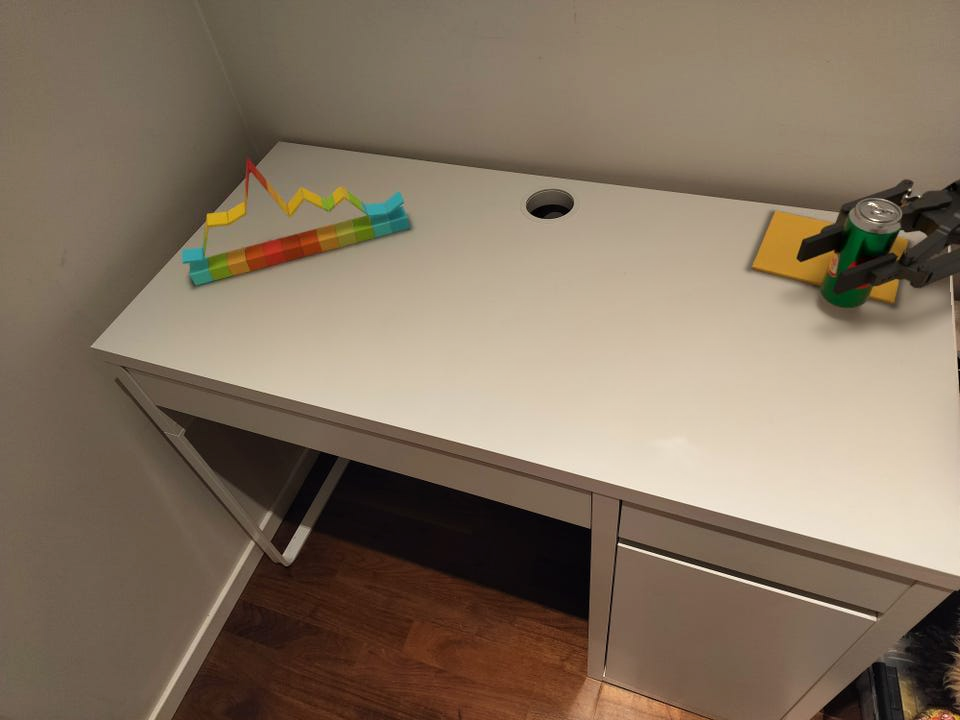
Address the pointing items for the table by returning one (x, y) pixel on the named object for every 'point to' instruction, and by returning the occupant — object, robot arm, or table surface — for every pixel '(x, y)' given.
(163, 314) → the table surface
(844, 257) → the soda can
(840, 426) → the table surface
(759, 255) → the orange flat board
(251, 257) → the chart
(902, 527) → the table surface
